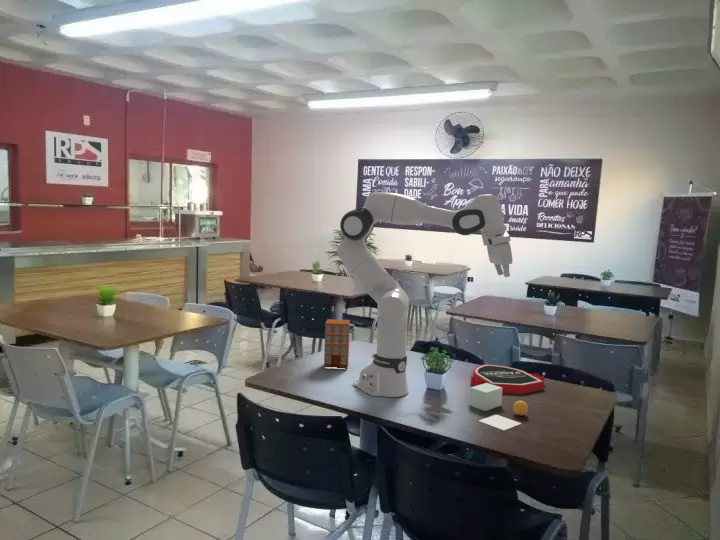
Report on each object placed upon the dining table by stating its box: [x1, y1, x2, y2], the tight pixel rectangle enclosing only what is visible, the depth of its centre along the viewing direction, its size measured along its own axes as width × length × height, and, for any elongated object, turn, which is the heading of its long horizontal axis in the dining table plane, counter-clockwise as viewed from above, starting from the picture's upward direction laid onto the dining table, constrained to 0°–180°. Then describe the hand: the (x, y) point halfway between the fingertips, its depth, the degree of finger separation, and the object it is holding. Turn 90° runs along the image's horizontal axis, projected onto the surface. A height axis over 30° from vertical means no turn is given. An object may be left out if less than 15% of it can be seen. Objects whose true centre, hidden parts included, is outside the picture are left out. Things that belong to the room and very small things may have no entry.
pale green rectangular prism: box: [468, 383, 503, 412], centre depth 201 cm, size 7×10×7 cm
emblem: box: [470, 363, 545, 395], centre depth 231 cm, size 30×4×30 cm
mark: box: [478, 414, 522, 432], centre depth 186 cm, size 10×10×1 cm
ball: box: [512, 400, 529, 416], centre depth 193 cm, size 5×5×5 cm
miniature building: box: [323, 318, 351, 370], centre depth 242 cm, size 10×9×20 cm
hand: (503, 275), depth 201 cm, fingers open, 8 cm apart
